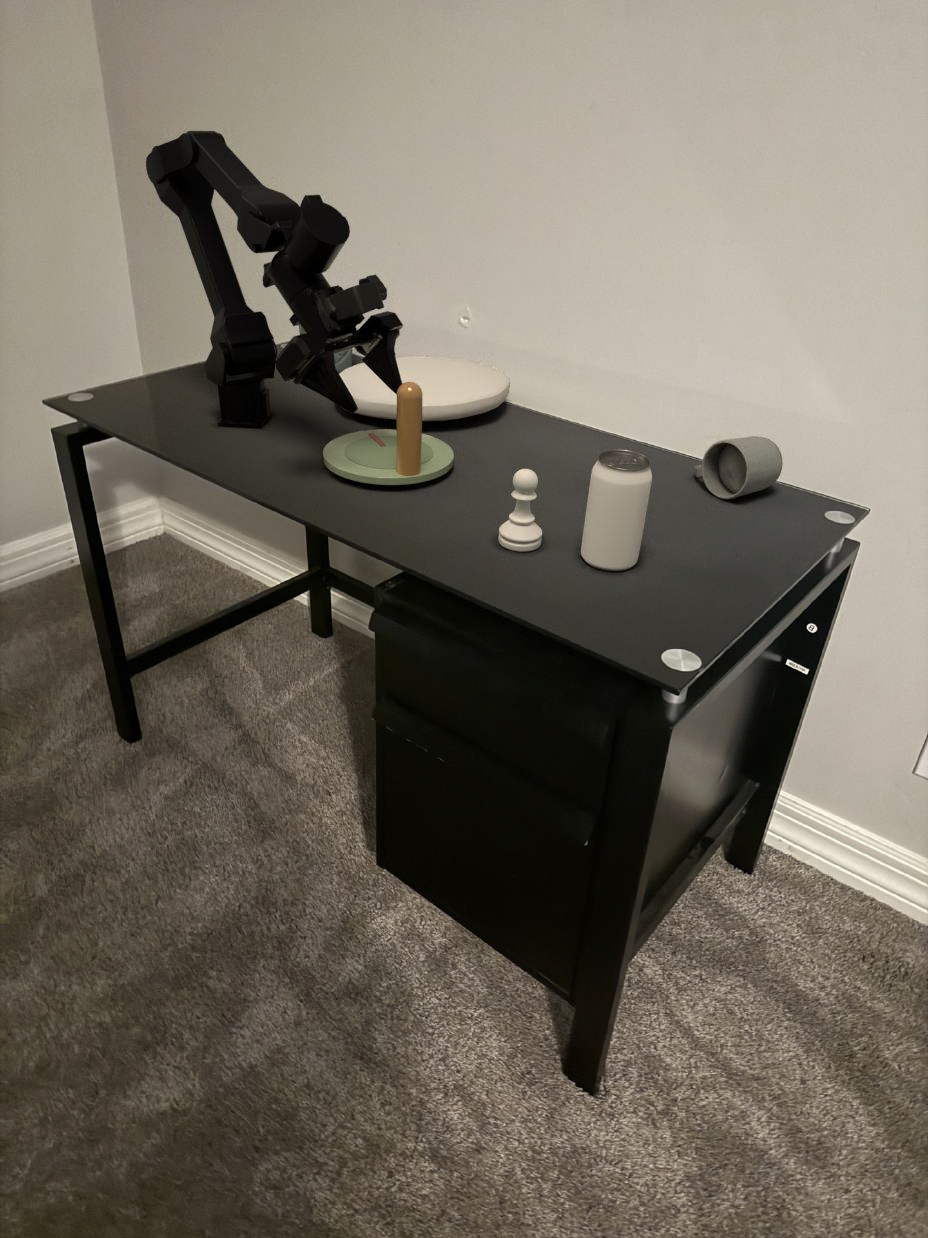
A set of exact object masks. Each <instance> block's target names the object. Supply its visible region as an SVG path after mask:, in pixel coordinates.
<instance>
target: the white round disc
mask: <svg viewBox="0 0 928 1238" xmlns="http://www.w3.org/2000/svg"><path fill="white" fill-rule="evenodd" d="M396 361H397V365H398V369H399V373H400V377H401V381H402V384H403V383H405V382H414V383H416V384H418V385H419V386H420V388H421V390H422V393H423V407H422V422H440V421H441V422H442V421H450V420H459V419H464V418H468V417H473V416H476V415H481V414H485V413H487V412H490V411H492V410H494V409H496V408H498V407H499V406H500V405H501V404H503V403H504V402H505V401H506V400H507V398H508V396H509V394H510V389H511V381H510V377H509V376H508V375H507V374H506V373H505V372H504V371H502V370H500V369H499V368H496V367H493V366H492V365H489V364H484V363H480V362H476V361H472V360H467V359H461V358H455V357H454V358H453V357H444V356H432V355H413V356H412V355H406V356H396ZM339 375H340V377H341V378H342V380H343V382H344V383H345V385H346V387H347V388H348V390H349V392H350V393H351V395H352V397H353V399H354V401H355V403H356V405H357V407H358V410H357V411H356V412H355V413H354V414H358V415H362V416H366V417H371V418H377V419H384V420H393V421H396V417H397V394H395V393H394V392H393V391H392V390H391V389H390V388H389V387H388V386H387V385H386V384H385V383H384V382H383V381H382V380H381V379H380V378H379V377H378V376H377V375H376V374H375V373H374V372H373V371H372V370H371V369H370V368H369V367H368V366H367V365H366V364H365V363H364V362H360V363H357V364H354V365H352V366H351V367H349V368H347V369H345V370H344V371H342V372H339ZM342 409H343V410H344V411H347V410H345V409H344V408H342ZM347 412H348V411H347Z"/></svg>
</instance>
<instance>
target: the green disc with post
mask: <svg viewBox="0 0 928 1238" xmlns="http://www.w3.org/2000/svg"><path fill="white" fill-rule="evenodd" d="M422 407H423V393H422V390H421V388H420V386H419V385H418V384H416V383H414V382H405V383H403V384H402V385H400V387H399V388H398V390H397V417H396V420H395V421H396V425H395V426H396V427H395V429H393V428H392V429H391V428H389V429H387V428H385V429H383V428H382V429H381V428H379V429H367V430H360V431H354V432H350V433H347V434H343V435H340V436H338V437H335V438H334V439H332V440H330V441H329V442H327V444H326V445H325V446H324V447H323V450H322V461H323V464H324V466H325V467H326V468H327V469H328V470H329V471H331V473H333V474H335V475H337V476H338V477H342V478H343V479H347V480H350V481H354V482H358V483H363V484H370V485H379V486H402V485H413V484H420V483H424V482H428V481H432V480H435V479H437V478H440V477H442V476H444V475H445V474H447V473H448V472H450V470H451V469H452V468H453V466H454V463H455V462H454V461H455V453H454V450H453V449H452V447H451V446H450V444H447V442H446V441H443V440H442V439H440V438H437V437H435V436H431V435H429V434H426V433H423V421H422Z"/></svg>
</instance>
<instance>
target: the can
mask: <svg viewBox="0 0 928 1238" xmlns="http://www.w3.org/2000/svg"><path fill="white" fill-rule="evenodd" d="M651 462H652V461H651V459H650V458H649V457H648V456H647V455H644V454H642V453H640V452H637V451H633V450H629V449H628V450H627V449H608V450H604V451H602V452H600V453H599V454H598V455H597V461H596V462H595V464H594V465H593V467H592V468H591V473H590V474H591V475H590V479H589V486H588V487H589V488H588V495H587V501H586V510H585V516H584V524H583V530H582V539H581V547H580V555H581V557H582V558H583V560H584V562H585V563H586V564H588V565H589V566H590V567H592V568H594V569H598V570H601V571H605V572H623V571H627V570H630V569H632V568H633V567H634V566H635V565H636V564H637V563H638V560H639V556H640V551H641V546H642V539H643V535H644V528H645V523H646V517H647V511H648V505H649V501H650V493H651V489H652V481H653V474H652V473H653V472H652V470H651V467H650V466H651V465H652V463H651Z"/></svg>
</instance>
